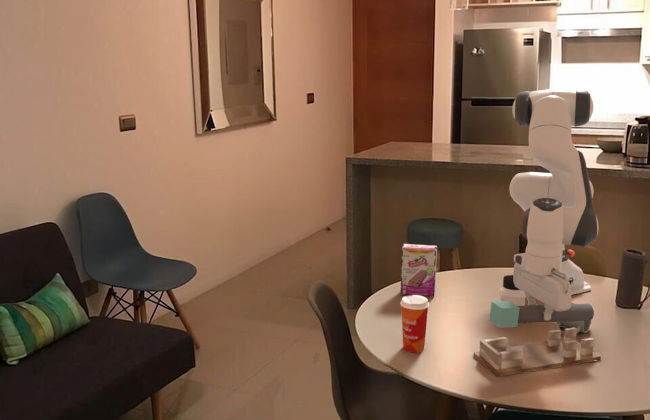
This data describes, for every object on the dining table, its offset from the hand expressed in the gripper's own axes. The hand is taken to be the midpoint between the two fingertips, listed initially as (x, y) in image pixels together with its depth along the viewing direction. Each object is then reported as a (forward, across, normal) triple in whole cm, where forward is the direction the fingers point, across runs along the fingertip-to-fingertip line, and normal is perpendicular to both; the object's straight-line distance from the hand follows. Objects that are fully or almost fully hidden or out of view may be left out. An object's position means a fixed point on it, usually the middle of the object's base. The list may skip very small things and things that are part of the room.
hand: (539, 315), depth 172 cm
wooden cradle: (+12, 0, 0) cm, 12 cm away
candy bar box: (+12, +52, +10) cm, 54 cm away
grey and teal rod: (+2, 0, -1) cm, 2 cm away
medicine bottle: (+12, +28, -10) cm, 32 cm away
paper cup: (+12, +15, +28) cm, 34 cm away
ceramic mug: (+12, +12, -20) cm, 26 cm away
